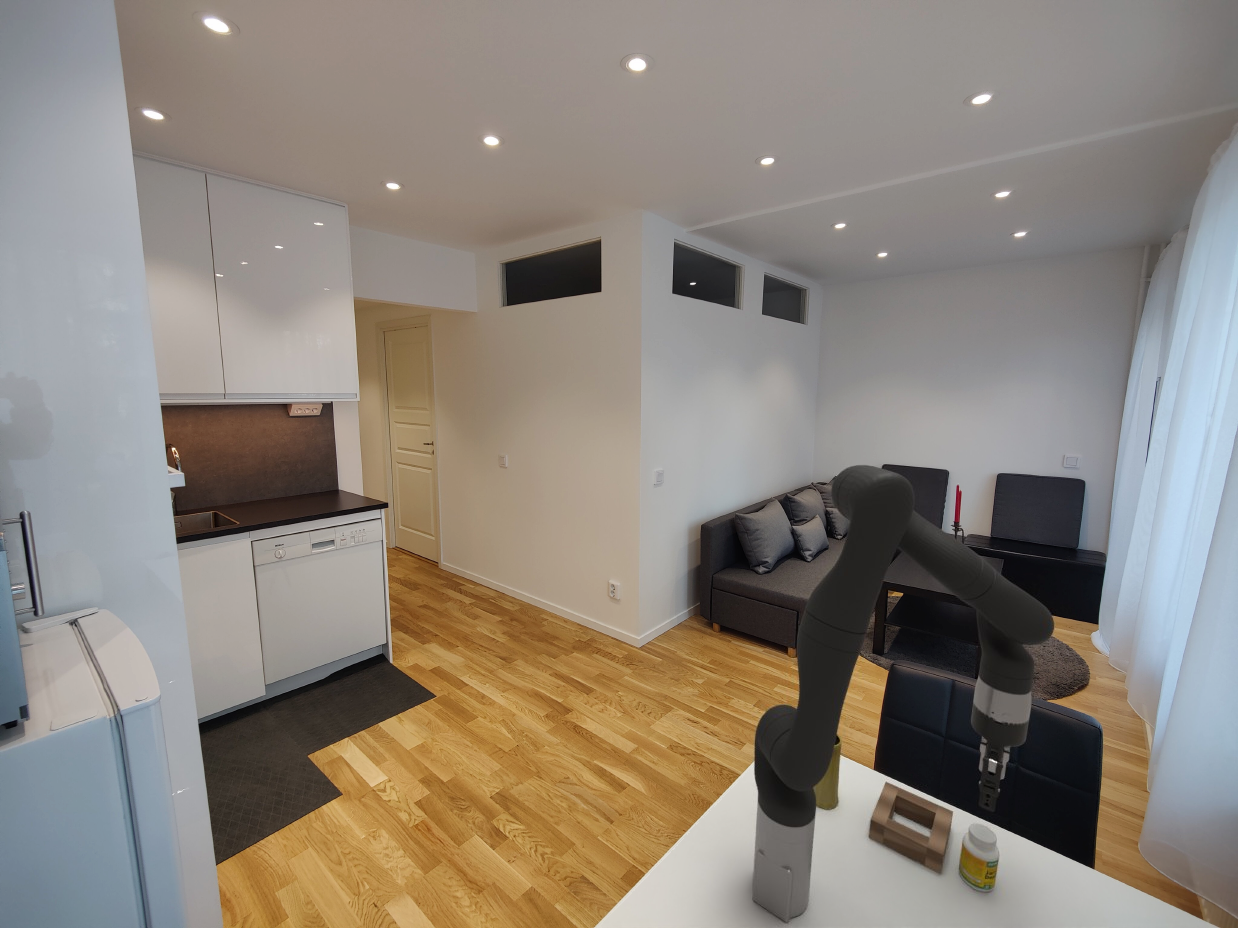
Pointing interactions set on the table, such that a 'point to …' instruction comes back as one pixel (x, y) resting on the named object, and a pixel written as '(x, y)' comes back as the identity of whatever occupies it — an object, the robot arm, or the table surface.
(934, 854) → the socket block
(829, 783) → the vase
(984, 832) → the supplement bottle
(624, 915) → the table surface
